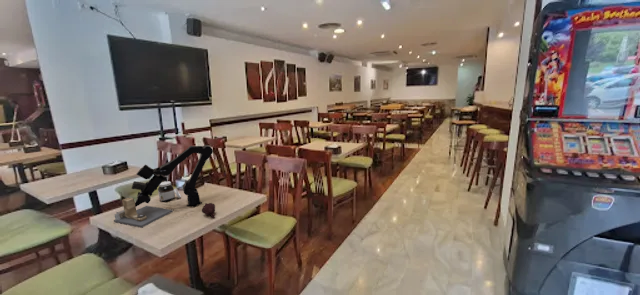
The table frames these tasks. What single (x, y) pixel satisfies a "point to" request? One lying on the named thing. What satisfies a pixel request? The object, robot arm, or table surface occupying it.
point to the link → (131, 210)
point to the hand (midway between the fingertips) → (134, 206)
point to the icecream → (209, 209)
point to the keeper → (120, 214)
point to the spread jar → (167, 192)
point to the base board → (150, 213)
